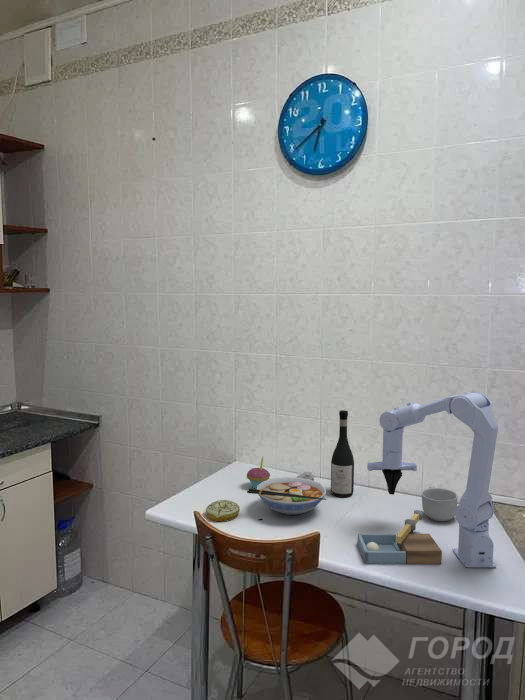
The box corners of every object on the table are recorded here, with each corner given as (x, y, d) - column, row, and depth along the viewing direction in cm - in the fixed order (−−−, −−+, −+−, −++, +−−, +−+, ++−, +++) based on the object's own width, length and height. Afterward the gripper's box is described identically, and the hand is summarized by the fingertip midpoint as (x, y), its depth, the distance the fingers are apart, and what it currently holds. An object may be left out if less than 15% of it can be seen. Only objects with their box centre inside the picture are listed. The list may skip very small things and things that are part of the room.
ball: (382, 556, 134) (378, 544, 133) (369, 560, 133) (366, 547, 133) (378, 550, 137) (375, 538, 137) (366, 553, 137) (363, 541, 137)
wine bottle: (351, 499, 175) (353, 414, 172) (328, 496, 177) (330, 412, 175) (354, 491, 182) (356, 409, 180) (332, 488, 185) (334, 407, 182)
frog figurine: (311, 494, 179) (311, 475, 178) (292, 491, 182) (292, 472, 181) (316, 489, 184) (317, 470, 184) (298, 486, 187) (299, 467, 187)
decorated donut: (199, 515, 162) (199, 503, 162) (227, 506, 169) (227, 495, 168) (217, 526, 154) (217, 514, 153) (245, 516, 160) (245, 505, 160)
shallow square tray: (405, 563, 132) (406, 552, 131) (365, 563, 132) (365, 552, 131) (395, 544, 142) (395, 533, 142) (357, 543, 142) (357, 533, 142)
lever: (403, 544, 133) (404, 537, 133) (392, 541, 135) (393, 534, 134) (424, 518, 150) (424, 511, 149) (414, 515, 151) (414, 509, 151)
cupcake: (274, 486, 187) (274, 454, 186) (261, 493, 180) (261, 460, 179) (254, 481, 192) (254, 450, 191) (241, 488, 185) (242, 456, 184)
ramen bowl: (333, 501, 173) (334, 478, 172) (323, 530, 151) (324, 503, 150) (263, 494, 179) (263, 471, 179) (243, 520, 157) (243, 495, 157)
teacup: (459, 526, 154) (460, 501, 153) (422, 523, 156) (423, 498, 155) (452, 508, 168) (452, 485, 167) (418, 505, 170) (418, 482, 169)
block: (441, 563, 132) (441, 549, 131) (406, 563, 132) (407, 548, 131) (426, 541, 144) (426, 527, 144) (394, 541, 144) (394, 527, 144)
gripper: (412, 446, 157) (411, 488, 158) (365, 445, 157) (364, 488, 158) (419, 452, 150) (417, 497, 151) (370, 452, 150) (369, 496, 151)
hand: (391, 493), depth 154 cm, fingers closed
